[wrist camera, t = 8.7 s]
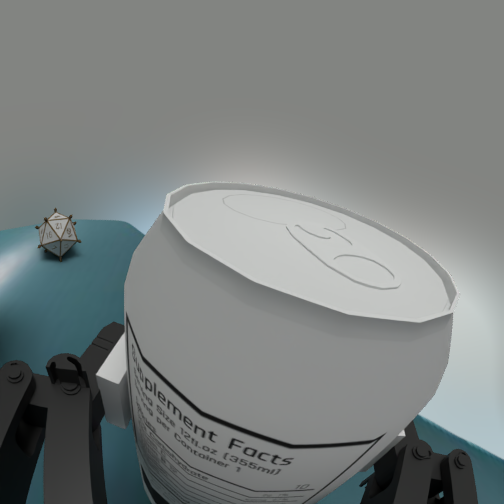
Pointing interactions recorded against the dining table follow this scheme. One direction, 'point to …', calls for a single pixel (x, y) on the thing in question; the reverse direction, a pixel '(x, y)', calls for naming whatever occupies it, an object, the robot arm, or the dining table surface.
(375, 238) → the supplement can
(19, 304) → the dining table surface
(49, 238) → the game die
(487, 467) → the dining table surface
